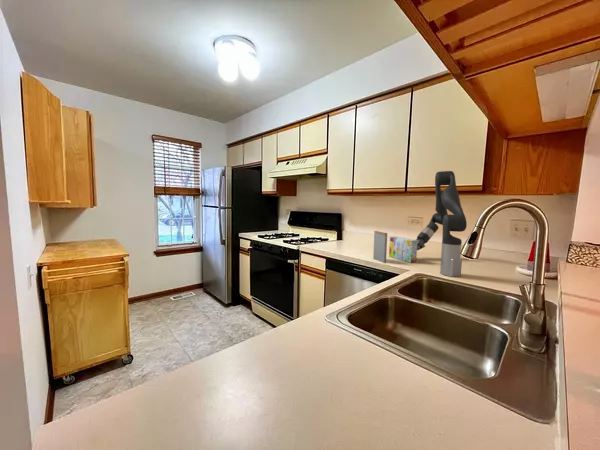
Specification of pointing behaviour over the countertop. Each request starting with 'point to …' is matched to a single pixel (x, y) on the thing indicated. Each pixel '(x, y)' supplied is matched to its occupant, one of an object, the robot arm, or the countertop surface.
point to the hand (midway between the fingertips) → (410, 252)
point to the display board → (380, 246)
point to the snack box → (403, 249)
